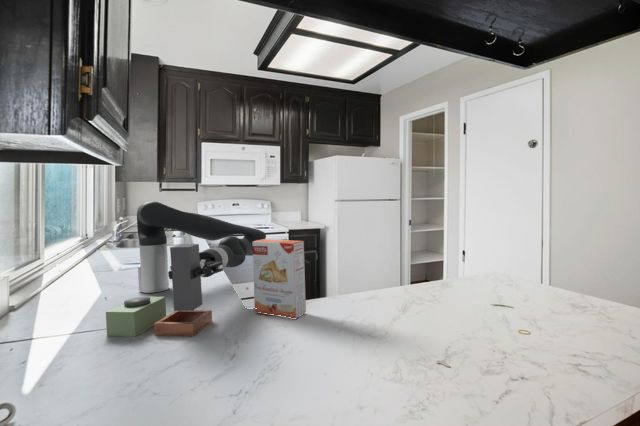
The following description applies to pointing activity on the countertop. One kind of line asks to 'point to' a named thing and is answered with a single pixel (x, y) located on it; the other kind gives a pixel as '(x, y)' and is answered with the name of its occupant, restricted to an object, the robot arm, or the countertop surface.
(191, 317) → the collar
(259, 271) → the cracker box
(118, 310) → the green block with knob
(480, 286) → the countertop surface
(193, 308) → the block
